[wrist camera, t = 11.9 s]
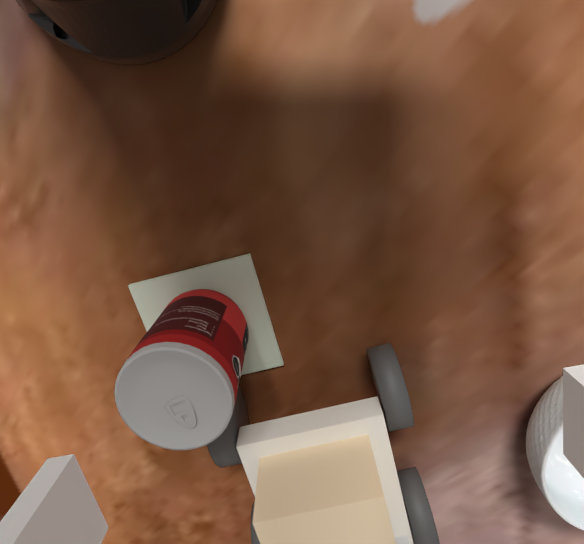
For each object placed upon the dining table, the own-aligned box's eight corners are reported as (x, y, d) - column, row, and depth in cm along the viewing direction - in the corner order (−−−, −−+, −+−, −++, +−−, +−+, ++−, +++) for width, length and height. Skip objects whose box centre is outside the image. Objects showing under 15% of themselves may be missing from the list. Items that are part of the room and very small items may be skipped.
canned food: (208, 381, 39) (177, 470, 28) (144, 322, 37) (86, 395, 27) (268, 331, 37) (259, 407, 27) (205, 268, 35) (169, 323, 25)
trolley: (212, 370, 39) (124, 622, 19) (384, 329, 38) (490, 554, 17) (272, 533, 45) (256, 854, 25) (421, 503, 44) (532, 817, 24)
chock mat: (129, 284, 36) (128, 285, 36) (249, 253, 35) (249, 254, 35) (172, 388, 40) (171, 391, 39) (283, 363, 39) (283, 365, 38)
